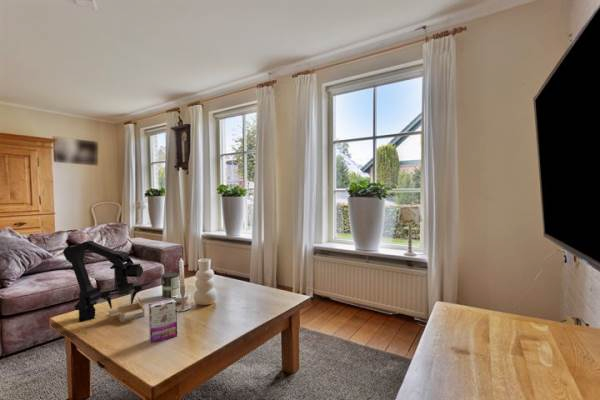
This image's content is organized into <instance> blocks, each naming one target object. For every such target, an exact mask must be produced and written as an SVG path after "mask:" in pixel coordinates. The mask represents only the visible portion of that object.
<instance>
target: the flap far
mask: <svg viewBox="0 0 600 400" xmlns="http://www.w3.org/2000/svg"><path fill="white" fill-rule="evenodd" d="M137 299H138V303H140V304H141V305H142V306H143V307H144V306H145V305H144V303H143V300H142V299H141V298H140V297H139V296H137ZM144 308H145V307H144Z"/></svg>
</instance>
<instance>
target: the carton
mask: <svg viewBox="0 0 600 400" xmlns="http://www.w3.org/2000/svg"><path fill="white" fill-rule="evenodd" d="M143 306H144V305H143ZM143 306H142V305H141V304H140V303H139V302H136V303H133V304H128V305H124V306H119V307H116V308H114V309H108V310H107V312H108V315H109V316H110V317H113V316H116V317H117V319H118V320H119V322H120V323H124V322H128V321H132V320H135V319H136V320H137V319H140V318H144V317H145V307H143Z"/></svg>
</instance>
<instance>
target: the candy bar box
mask: <svg viewBox="0 0 600 400" xmlns="http://www.w3.org/2000/svg"><path fill="white" fill-rule="evenodd" d="M177 304H178V303H177V300H176V299H175V298H174V299H164V300H161V301H157V302H153V303H152V302H151V303H148V322H149V323H148V324H149V325H148V326H149V328H148V330H149V333H148V334H149V341H150V343H151V344H155V343H158V342H161V341H165V340H168V339H169V340H170V339H171V338H175V337H178V311H177Z"/></svg>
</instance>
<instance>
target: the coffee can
mask: <svg viewBox="0 0 600 400" xmlns="http://www.w3.org/2000/svg"><path fill="white" fill-rule="evenodd" d="M176 295H179V296H180V273H179V272H173V271H172V272H166V273H164V274H162V275H161V298H162V299H163V300H170V299H173V296H176Z"/></svg>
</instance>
